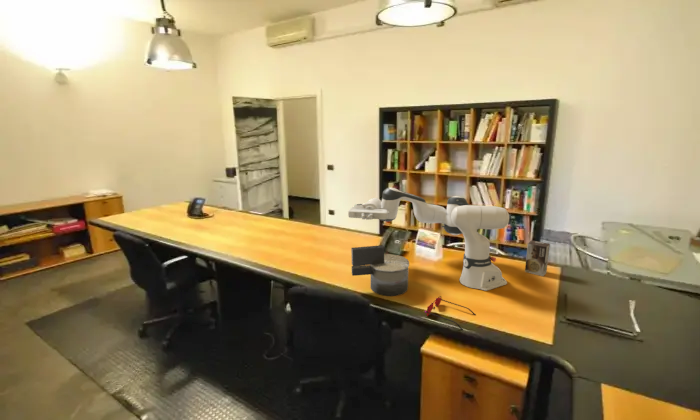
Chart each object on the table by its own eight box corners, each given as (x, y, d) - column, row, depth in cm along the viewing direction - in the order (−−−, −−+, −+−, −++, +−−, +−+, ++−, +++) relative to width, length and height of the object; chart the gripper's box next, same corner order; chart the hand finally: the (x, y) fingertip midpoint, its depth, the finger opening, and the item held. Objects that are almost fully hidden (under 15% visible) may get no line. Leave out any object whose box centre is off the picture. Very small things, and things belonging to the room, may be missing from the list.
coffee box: (546, 272, 180) (550, 243, 176) (543, 276, 175) (547, 246, 171) (528, 268, 186) (531, 239, 182) (524, 271, 181) (527, 242, 177)
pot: (402, 277, 177) (402, 256, 174) (412, 294, 160) (413, 270, 157) (350, 281, 174) (349, 259, 171) (354, 298, 157) (354, 274, 154)
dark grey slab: (401, 255, 175) (402, 238, 173) (414, 270, 157) (415, 251, 155) (348, 259, 170) (348, 242, 168) (356, 275, 152) (355, 256, 150)
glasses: (438, 303, 152) (439, 293, 151) (476, 315, 142) (477, 305, 141) (424, 317, 142) (424, 306, 141) (463, 331, 132) (464, 320, 131)
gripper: (389, 217, 181) (386, 225, 168) (352, 215, 186) (345, 222, 173) (390, 205, 180) (386, 212, 167) (352, 204, 185) (345, 210, 172)
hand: (365, 218), depth 170 cm, fingers closed
